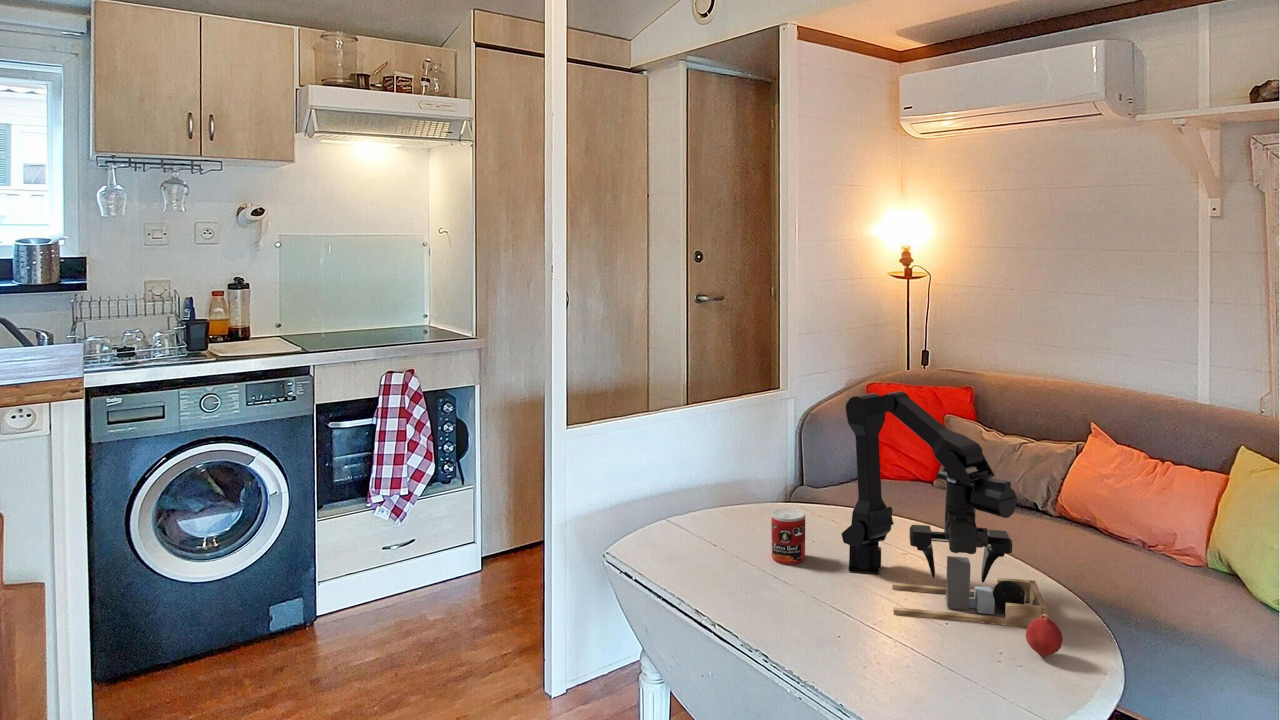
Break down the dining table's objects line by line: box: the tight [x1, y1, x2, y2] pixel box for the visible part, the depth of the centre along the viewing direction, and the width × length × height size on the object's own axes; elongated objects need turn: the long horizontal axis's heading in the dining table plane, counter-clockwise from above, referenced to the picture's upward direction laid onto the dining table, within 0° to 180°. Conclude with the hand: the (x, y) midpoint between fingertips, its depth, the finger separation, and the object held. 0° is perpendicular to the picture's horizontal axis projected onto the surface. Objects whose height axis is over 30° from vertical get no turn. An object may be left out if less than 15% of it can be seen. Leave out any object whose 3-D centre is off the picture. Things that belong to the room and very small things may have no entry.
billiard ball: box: [992, 581, 1026, 612], centre depth 164 cm, size 6×6×6 cm
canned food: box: [771, 507, 806, 566], centre depth 193 cm, size 8×8×11 cm
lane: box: [891, 582, 1007, 626], centre depth 167 cm, size 20×13×1 cm, turn 74°
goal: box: [996, 577, 1049, 628], centre depth 163 cm, size 7×13×4 cm, turn 164°
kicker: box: [945, 555, 996, 615], centre depth 165 cm, size 8×6×9 cm
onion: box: [1025, 614, 1064, 658], centre depth 145 cm, size 6×6×8 cm
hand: (958, 579), depth 166 cm, fingers open, 9 cm apart
